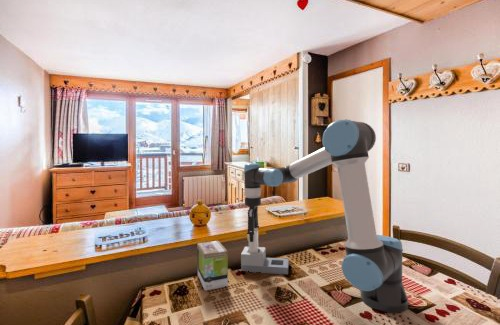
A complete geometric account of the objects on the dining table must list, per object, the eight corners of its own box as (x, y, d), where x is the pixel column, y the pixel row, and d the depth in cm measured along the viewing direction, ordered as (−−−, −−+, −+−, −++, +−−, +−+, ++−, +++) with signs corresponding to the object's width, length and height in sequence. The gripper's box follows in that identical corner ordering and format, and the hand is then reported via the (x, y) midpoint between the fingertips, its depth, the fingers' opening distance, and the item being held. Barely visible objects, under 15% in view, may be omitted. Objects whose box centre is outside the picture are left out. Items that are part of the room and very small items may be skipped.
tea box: (228, 286, 107) (228, 250, 107) (204, 291, 104) (203, 254, 103) (219, 271, 121) (218, 239, 121) (197, 275, 118) (196, 242, 117)
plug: (257, 257, 122) (256, 232, 122) (247, 257, 123) (246, 231, 123) (258, 254, 126) (258, 229, 126) (248, 254, 127) (248, 229, 126)
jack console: (287, 274, 117) (287, 256, 117) (241, 271, 121) (241, 254, 120) (288, 264, 127) (288, 248, 127) (245, 262, 130) (245, 246, 130)
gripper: (257, 200, 112) (258, 253, 113) (263, 193, 133) (264, 237, 134) (240, 200, 114) (241, 252, 114) (248, 193, 134) (249, 237, 135)
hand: (253, 244), depth 124 cm, fingers open, 8 cm apart
